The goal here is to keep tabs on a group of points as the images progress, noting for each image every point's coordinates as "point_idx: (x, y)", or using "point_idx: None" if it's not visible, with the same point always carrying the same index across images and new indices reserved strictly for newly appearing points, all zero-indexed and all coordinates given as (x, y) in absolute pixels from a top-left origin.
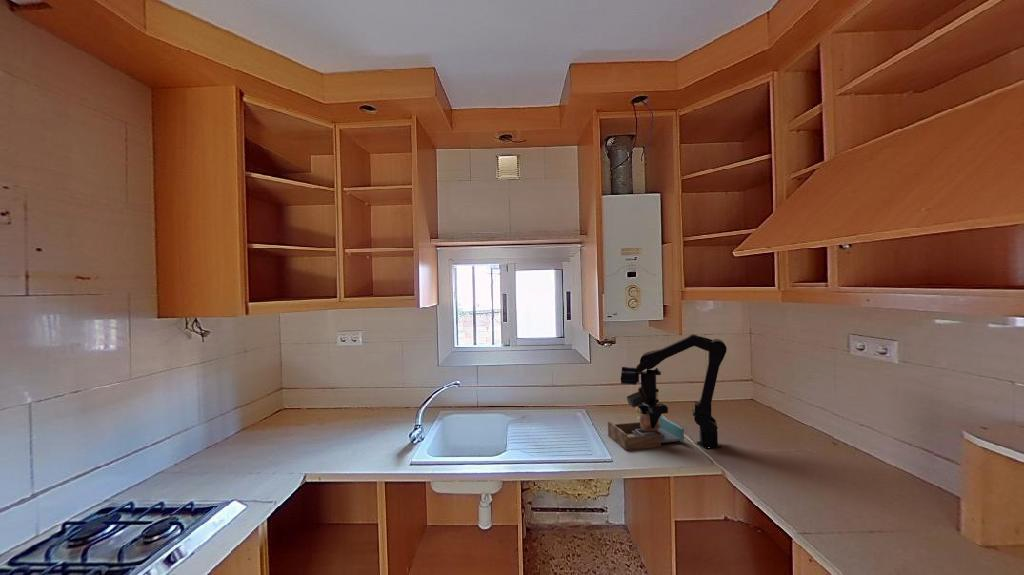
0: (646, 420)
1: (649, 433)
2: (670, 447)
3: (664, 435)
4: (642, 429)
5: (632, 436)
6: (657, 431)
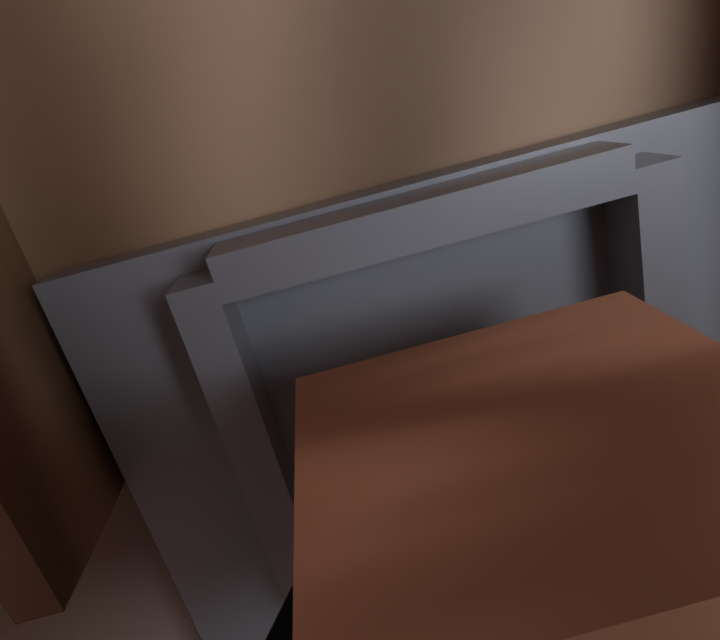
0: (294, 613)
1: None
2: (104, 578)
3: None
4: None
5: (529, 70)
6: None
